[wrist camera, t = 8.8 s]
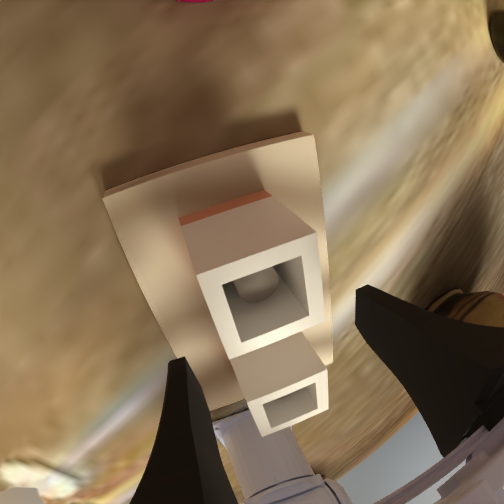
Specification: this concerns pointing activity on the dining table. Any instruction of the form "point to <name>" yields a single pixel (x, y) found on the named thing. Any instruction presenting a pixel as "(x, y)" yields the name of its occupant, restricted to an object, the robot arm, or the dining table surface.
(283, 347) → the seated sleeve
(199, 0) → the pepper mill
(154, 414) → the dining table surface
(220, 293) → the sleeve
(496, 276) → the dining table surface
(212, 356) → the pin board
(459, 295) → the ceramic jug
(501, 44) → the supplement bottle
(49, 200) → the dining table surface
